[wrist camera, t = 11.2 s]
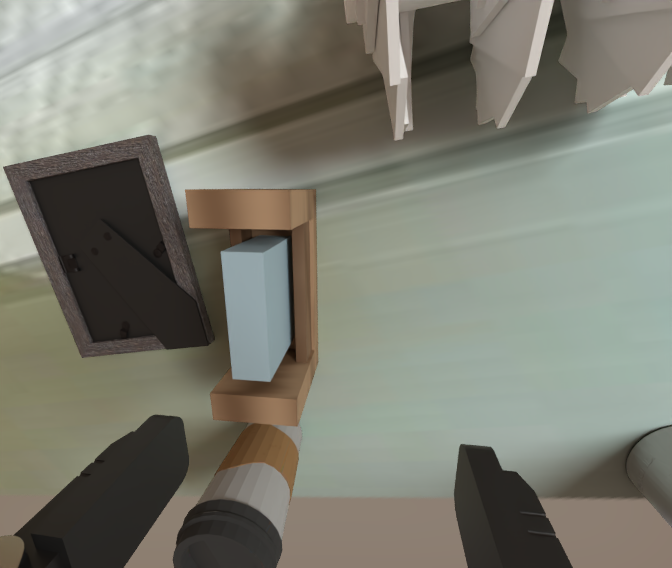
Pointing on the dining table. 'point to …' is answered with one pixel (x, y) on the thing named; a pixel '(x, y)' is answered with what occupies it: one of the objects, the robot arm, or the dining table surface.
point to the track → (302, 355)
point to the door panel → (259, 305)
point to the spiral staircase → (527, 49)
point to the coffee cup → (244, 503)
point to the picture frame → (113, 247)
